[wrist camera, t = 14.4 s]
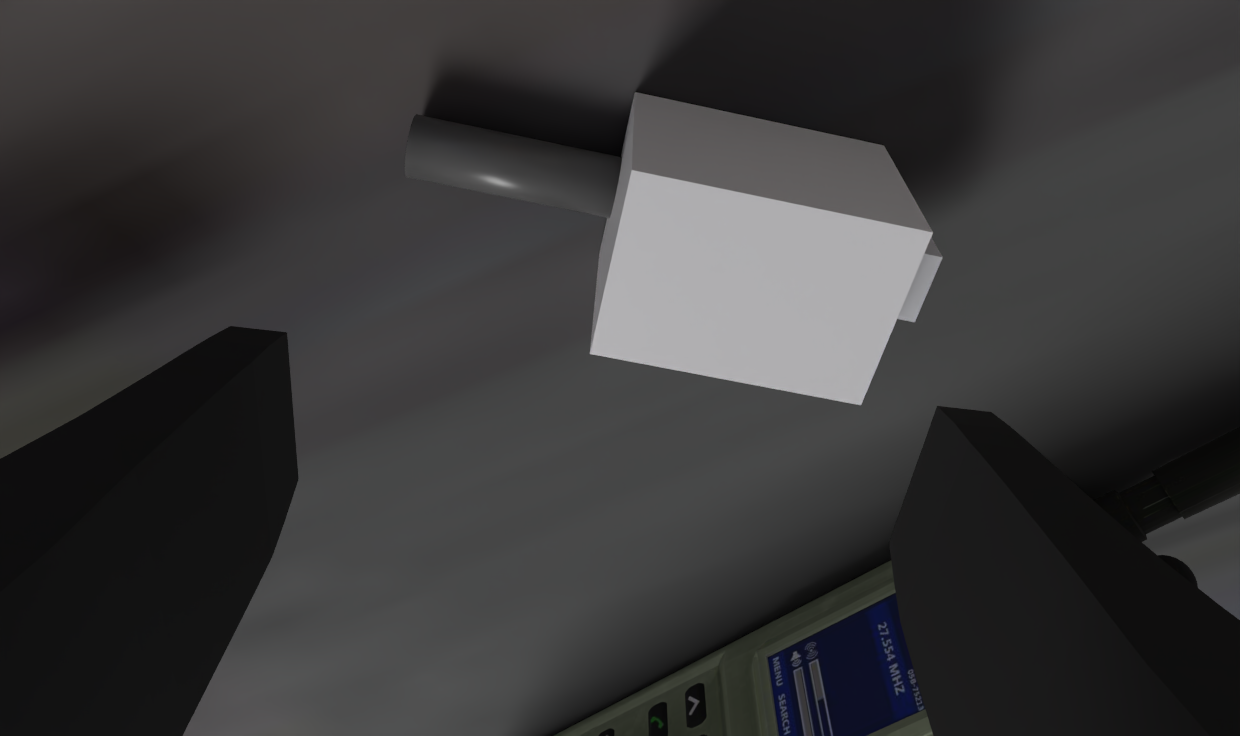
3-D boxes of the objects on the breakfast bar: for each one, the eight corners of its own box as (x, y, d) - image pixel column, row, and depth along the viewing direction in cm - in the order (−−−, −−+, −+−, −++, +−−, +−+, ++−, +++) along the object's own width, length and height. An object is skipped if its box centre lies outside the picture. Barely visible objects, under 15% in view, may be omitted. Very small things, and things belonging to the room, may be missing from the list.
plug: (409, 215, 20) (363, 310, 17) (426, 47, 19) (377, 117, 15) (872, 307, 21) (913, 415, 18) (932, 155, 20) (991, 244, 16)
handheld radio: (466, 758, 31) (1285, 322, 22) (538, 805, 32) (1334, 415, 23) (431, 993, 25) (1512, 540, 16) (520, 1037, 27) (1558, 645, 17)
